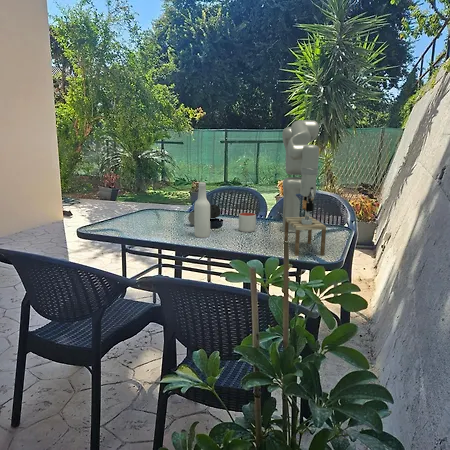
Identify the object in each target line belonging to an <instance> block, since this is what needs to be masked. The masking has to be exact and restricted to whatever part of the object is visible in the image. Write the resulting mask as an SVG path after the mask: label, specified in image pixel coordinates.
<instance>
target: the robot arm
mask: <svg viewBox="0 0 450 450" xmlns="http://www.w3.org/2000/svg"><path fill="white" fill-rule="evenodd" d="M319 132H320V125H319V123H318V122H317V121H316V120H308V119H307V120H306V119H305V120H303V119H301V120H300V119H299V120H295V121H293V122H292V124H291V126H288V127H285V128H284V129H283V130H282V133H281V134H282V137H281V138H282V143H283V145H284V149H285V173H286V174H287V175H291V176H293V177H289V176H288V177H286V178H284V179H283V181H282V191H283V207H282V226H281V227H279V231H280V232H283V233H285V217H300V209H301V208H300V207H301V201H300V199H299V197H298V196H297V195H299V194H300V195H301V196H302V201H303V200H307V203H306V211H307V212H309V211H310V212H313V211H314V200H315V196H317V194H316V193H317V176H318V173H319V158H320V157H319V155H320V148H319V147H320V146H318V145H316V144H309V143H312V142H313V141H315V139H316V138H317V137H318V136H319V135H318V134H319ZM297 176H298V177H297ZM299 176H301V177H299ZM310 212H309V213H310ZM301 231H302V230H300V232H301ZM288 233H292V234H293V233H295V234H296V229H295V228H294V227H293V226H291V225H290V224H289V225H288Z"/></svg>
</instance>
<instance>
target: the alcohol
mask: <svg viewBox="0 0 450 450" xmlns="http://www.w3.org/2000/svg"><path fill="white" fill-rule="evenodd" d="M206 185H207V183H206V182H205V181H204V182H203V181H202V182H201V181H200V182H198V185H197V186H198V193H197V200H195V202H194V206H193V207H194V209H193V210H194V225H193V226H194V237H195V238H198V239H199V238H200V239H204V238H205V239H206V238H209V237H210V236H211V221H210V205H211V203H210V202H209V200H208V199H207V190H206V188H207V187H206Z"/></svg>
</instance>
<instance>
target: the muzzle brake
mask: <svg viewBox="0 0 450 450" xmlns="http://www.w3.org/2000/svg"><path fill="white" fill-rule="evenodd" d="M221 213H222V212H221V208H220V206H218V204H210V219H211V218H215V219H217V218H218V217H219V216H221ZM187 218H188V222H189V224H191V225H192V226H194V209H193V210H191V211H190V212H189V214H188V215H187Z"/></svg>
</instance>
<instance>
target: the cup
mask: <svg viewBox="0 0 450 450" xmlns="http://www.w3.org/2000/svg"><path fill="white" fill-rule="evenodd" d="M256 225H257V214H256V213H253V212H241V213H239V214H238V230H239V231H240V232H242V233H253V232H255V231H256V229H257V228H256Z"/></svg>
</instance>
